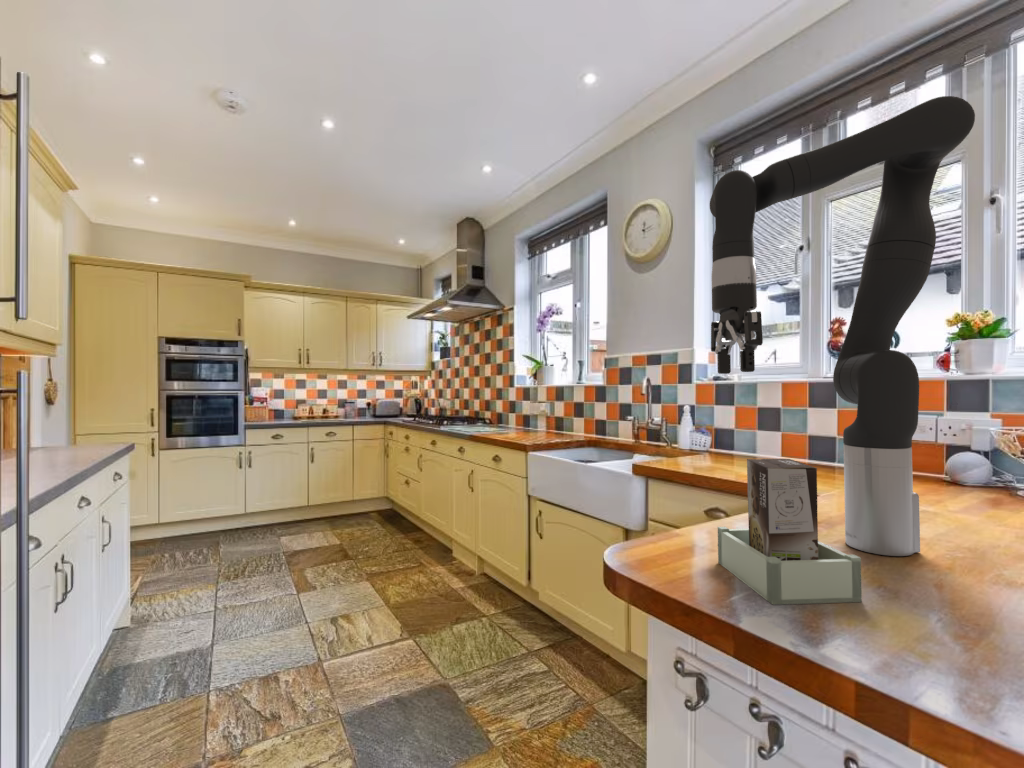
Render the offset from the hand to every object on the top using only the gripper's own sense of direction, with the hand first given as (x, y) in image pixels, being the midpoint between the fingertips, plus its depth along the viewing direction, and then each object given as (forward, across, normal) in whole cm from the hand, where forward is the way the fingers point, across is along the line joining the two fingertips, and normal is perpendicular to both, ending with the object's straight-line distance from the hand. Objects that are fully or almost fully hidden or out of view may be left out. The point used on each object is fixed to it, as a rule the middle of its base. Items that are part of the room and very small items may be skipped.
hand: (735, 372), depth 88 cm
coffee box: (+30, -20, +4) cm, 36 cm away
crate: (+30, -20, +4) cm, 36 cm away
